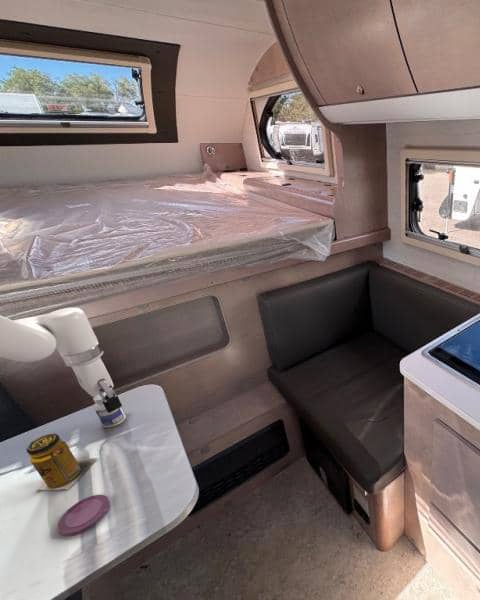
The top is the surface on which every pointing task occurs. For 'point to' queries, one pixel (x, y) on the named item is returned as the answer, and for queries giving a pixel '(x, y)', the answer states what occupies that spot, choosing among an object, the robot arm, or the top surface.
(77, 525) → the saucer
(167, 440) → the top surface
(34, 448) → the condiment
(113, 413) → the pill bottle
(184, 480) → the top surface
